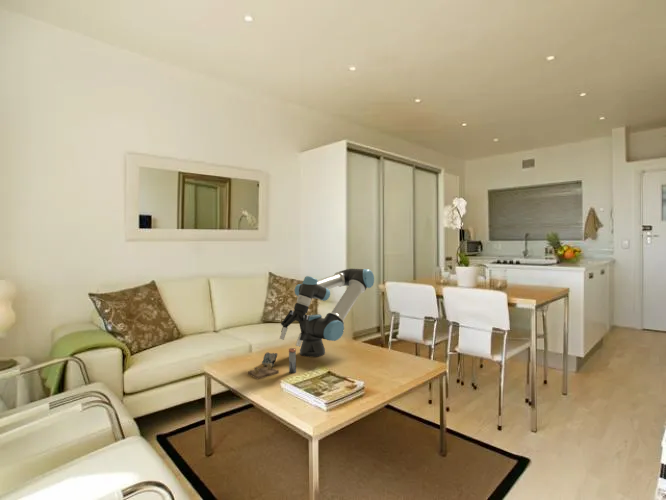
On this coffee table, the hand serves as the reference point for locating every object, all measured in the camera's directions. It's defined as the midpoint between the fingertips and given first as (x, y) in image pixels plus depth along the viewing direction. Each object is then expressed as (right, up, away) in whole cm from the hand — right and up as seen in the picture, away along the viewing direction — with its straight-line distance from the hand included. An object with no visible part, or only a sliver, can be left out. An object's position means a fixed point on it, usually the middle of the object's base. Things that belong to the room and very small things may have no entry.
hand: (289, 342), depth 199 cm
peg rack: (-13, -14, -6) cm, 20 cm away
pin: (+2, -14, -5) cm, 15 cm away
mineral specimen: (-11, -14, +8) cm, 20 cm away
